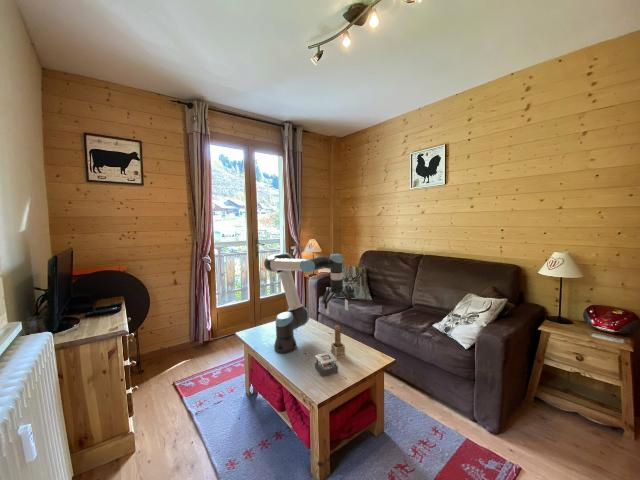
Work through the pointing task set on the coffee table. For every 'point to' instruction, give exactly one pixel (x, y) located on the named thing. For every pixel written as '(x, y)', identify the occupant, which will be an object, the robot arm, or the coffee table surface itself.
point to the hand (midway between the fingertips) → (337, 311)
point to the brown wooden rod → (337, 336)
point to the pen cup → (338, 350)
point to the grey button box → (331, 360)
